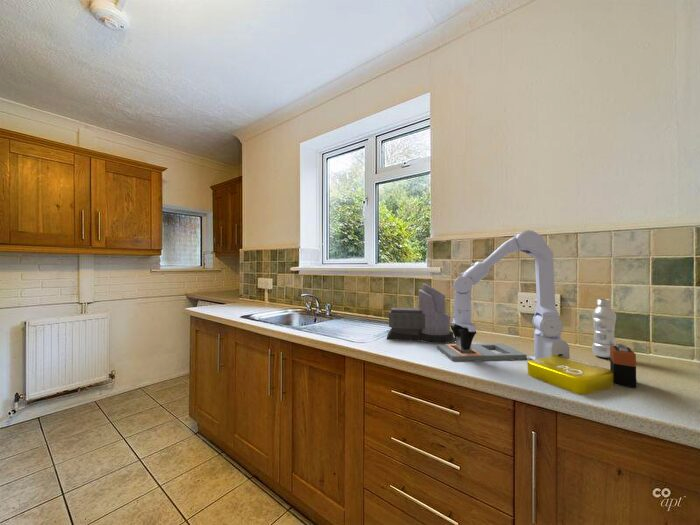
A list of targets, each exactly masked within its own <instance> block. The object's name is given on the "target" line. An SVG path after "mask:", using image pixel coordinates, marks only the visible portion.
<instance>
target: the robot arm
mask: <svg viewBox="0 0 700 525" xmlns="http://www.w3.org/2000/svg"><path fill="white" fill-rule="evenodd" d="M518 251H519V252H521V253H525V254H527V255H528V256H530V257H531V258H533V259H534V263H535V266H534V268H535V270H534V271H535V289H536V290H535V292H536V293H535V294H536V295H535V296H536V305H535V309H534V315H533V317H532V325H533V327H534V328H535V330H534V331H533V344H534V345H533V346H534V347H533V348H534V350H533V352H534V354H533V356H531V355H530V356H527V359H530V360H535V359H540V358H546V357H551V356H563V357H566V358H570V345H569V343H568V342H567V341H566V340H564V339H563V338H562V336H561V335H562V332H563V331H564V325H563V322H562V321H561V318H560V314H559V311H558V309H557V307H556V292H555V291H556V290H555V289H556V288H555V266H554V253H553V250H552V249H551V248H550V246H549V245H548V244H547V242H546V241H545V240H544V238H543V235H541V234H539V233H538V232H536V231H534V230H529V229H528V230H524V231H521V232H520V233H516V234H515V235H514V236H513V237H511V238H510V239H508V240H507V241H505V242H503V243H502V244H501V245H500V246H498V248H497V249H495V250H494V251H493V252H492V253H491V254H490V255H489V256H487V257H486V258H485V259H484V260H482V261H476V262H472V263H471V264H470V267H469V268H468V269H466V270H465V271H464V272H461V273H460V275H461V276H458V277H456V279H455V280H454V282H453V287H454V296H453V303H454V304H453V306H454V307H453V309H454V310H453V312H454V316H453V317H452V318H451V321H450V330H451V331H452V332H453V337H454V338H455V341H456V336H461V339H462V346H463V349H464V350H470V347H471V343H472V342H473V339H474V338H475V336H476V334H477V330H476V325H474V323H473V322H472V297H471V291H472V289H473V286H475V285H477V284H478V283H479V282H481V281H482V280H483V279H484V278H485V277H487V276H488V275H489V274H490V268H491V267H493V266H494V265H495V264H496V263H498V262H499V261H501V260H502V259H503V258H504V257H505V256H507V255H509V254H511V253H514V252H518ZM472 344H473V343H472Z"/></svg>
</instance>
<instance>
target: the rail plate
mask: <svg viewBox="0 0 700 525" xmlns="http://www.w3.org/2000/svg"><path fill="white" fill-rule="evenodd" d="M436 349H437V350H438V351H439V350H440V353H442V354H443V355H444V354H445V357H446V358H448V359H449V358H450V359H449V360H451V361H452V362H458V361H459V362H462V361H469V362H470V361H499V360H501V361H504V360H512V361H513V360H527V359H528V356H527V354H526V353H524V352H522V351H519V350H517V349H515V348H513V347H510V346H508V345H506V344H504V343H472V353H471V354H462V353H460V352H459V351H457V350H456V343H445V344H436ZM495 349H496V350H495ZM492 350H495V351H497V350H498V352H499V353H496V352H494V351H492Z"/></svg>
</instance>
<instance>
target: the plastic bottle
mask: <svg viewBox="0 0 700 525" xmlns="http://www.w3.org/2000/svg"><path fill="white" fill-rule="evenodd" d="M596 305H597V306H596V307H595V308H594V310H592V313H591V317H592V324H593V342H592V345H591V346H592V347H591V350H592V353H593V355H595V356H597V357H601V358H604V359H610V346H617V345H616V340H615V328H616V323H617V314H616V312H615V311H614V309H613V308H612V307H611V306H612V304H611V299H608V298H607V299H604V298H597V299H596Z"/></svg>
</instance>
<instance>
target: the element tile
mask: <svg viewBox="0 0 700 525" xmlns="http://www.w3.org/2000/svg"><path fill="white" fill-rule="evenodd" d="M527 375H528V376H529V377H532V378H534V379H537V380H539V381H542V382H544V383H547V384H550V385H552V386H555V387H558V388H560V389H562V390H565V391H568V392H570V393H573V394H578V395H585V396H586V395H590V394H593V393H597V392H602V391H605V390H607V389H611V388H614V386H615V384H614V372H613V371H612V370H610V368H605V367H601V366H597V365H594V364H592V363H591V364H590V363H587V362H583V361H582V360H581V361H580V360H576V359H572V358H570V357H569V358H566V357H563V356H551V357H546V358H540V359H535V360H532V359H530V360H528V361H527Z"/></svg>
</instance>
